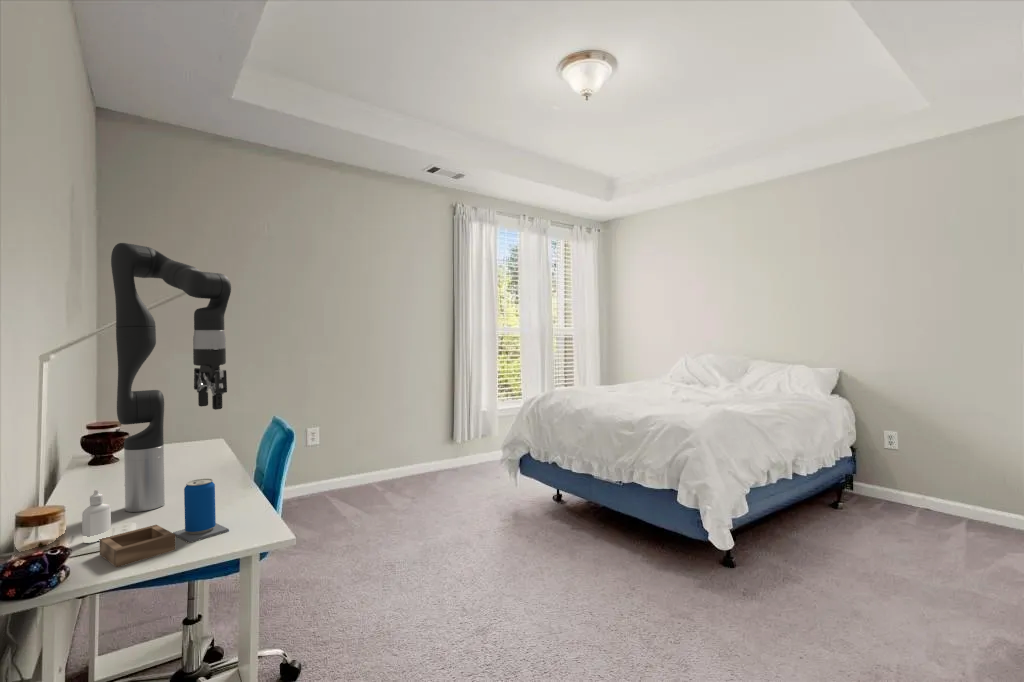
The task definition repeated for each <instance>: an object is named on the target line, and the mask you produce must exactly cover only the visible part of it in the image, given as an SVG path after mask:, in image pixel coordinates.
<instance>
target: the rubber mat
mask: <svg viewBox="0 0 1024 682" xmlns="http://www.w3.org/2000/svg"><path fill="white" fill-rule="evenodd" d="M227 531H228V532H230V530H229V527H225V526H224V525H221V524H219V523H217V522H216V525H215V527H213V528H212V530H210V531H208V532H205V533H201V534H190V533H189V532H186V531H185V528H184V529H180V530H176V531H173V532H172V533H173V534H175V537H177V538H178V537H179V539H180V538H181V540H182V539H183V540H182V541H184V540H185V542H186V541H187V542H186V543H188V542H190V543H193V542H192V541H194V542H196V540H197V541H199V539H201V540H204V539H207V538H210V536H211V537H214V536H217V534H218V535H220V533H221V534H223V532H224V533H227ZM203 538H204V539H203Z"/></svg>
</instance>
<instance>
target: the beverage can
mask: <svg viewBox="0 0 1024 682" xmlns="http://www.w3.org/2000/svg"><path fill="white" fill-rule="evenodd" d="M185 484H186V485H185V486H184V489H183V495H184V499H183V500H184V529H185V531H186V532H189V533H190V534H201V533H205V532H208V531H210V530H212V528H213V527H215V525H216V523H217V521H216V518H217V517H216V516H217V515H216V488H215V487H216V484H215V483H214V480H213V479H212V478H199V479H198V478H197V479H193V480H189V481H187V482H186V483H185Z"/></svg>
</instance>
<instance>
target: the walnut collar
mask: <svg viewBox="0 0 1024 682" xmlns="http://www.w3.org/2000/svg"><path fill="white" fill-rule="evenodd" d="M99 540H100V541H99V556H100V557H102V558H103V559H105V560H106V561H107V562H108V563H110V564H112V565H113V566H114V567H116V568H120V567H122V566H126V565H129V564H133V563H134V564H135V563H136V562H139V561H143V560H146V559H150V558H153V557H157V556H160V555H163V554H166V553H170V552H173V551H176V550H177V549H176V536H175V534H173V532H171V531H170V530H168V529H165V528H164V527H162V526H160V525H158V524H154V525H153V524H152V525H150V526H146V527H142V528H138V529H134V530H129V531H125V532H122V533H117V534H114V535H111V536H110V537H106V538H102V539H99Z"/></svg>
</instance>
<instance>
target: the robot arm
mask: <svg viewBox="0 0 1024 682" xmlns="http://www.w3.org/2000/svg"><path fill="white" fill-rule="evenodd" d="M110 258H111V259H110V264H111V265H110V266H111V274H112V281H113V289H114V297H115V298H114V299H115V339H116V340H115V341H116V342H115V343H116V354H117V356H116V357H117V386H116V387H117V389H116V391H117V392H116V415H117V416H116V417H117V420H118V422H119V424H121V425H123V426H124V425H128V426H129V425H137V424H146V423H148V426H147V427H146V428H145V429H142V430H141V431H140V432H138V433H136V434H135V433H134V434H133V435H130V436H128V437H126V438H124V441H123V449H124V450H123V452H124V453H123V460H124V461H123V462H124V510H125V511H126V512H128V513H135V512H145V511H146V512H147V511H151V510H154V509H155V510H156V509H158V508H161V507H162V506H164V505H165V500H166V499H165V452H164V451H165V450H164V447H165V445H164V419H165V418H164V417H165V397H164V394H163V392H162V391H161V390H159V389H148V390H132V386H133V382H134V380H135V378H136V376H137V374H138V372H139V370H140V369H141V368H142V365H144V363H145V362H146V360H147V359H148V358H149V356H151V354H152V352H153V351H154V349H155V347H156V345H157V333H156V331H157V330H156V321H155V319H154V316H153V315H152V313H151V312H150V310H149V309H148V307H147V306H146V305H145V303H144V301H143V300H142V299H141V297H140V296H139V293H138V292H137V287H136V284H135V278H141V279H161V280H162V281H163V282H164V283H166V284H167V285H168V286H170V287H173V288H176V289H178V290H181V291H183V292H184V293H185V294H186V295H188V296H189V297H192V298H196V299H206V300H207V299H208V300H209V302H208V304H207V306H204V307H199V308H196V309H195V310H194V312H193V330H194V331H193V336H192V337H193V339H192V353H193V354H192V355H193V356H192V359H193V365H194V366H199V367H194V368H193V369H194V370H193V371H194V372H193V374H194V375H193V389H194V390H196V393H198V395H197V396H198V397H197V398H198V400H197V403H198V407H200V408H201V407H207V406H209V389H210V391H211V394H212V396H211V397H212V399H211V400H212V401H211V402H212V404H211V405H212V410H216V411H217V410H221V409H223V395H224V394H225V393H227V392H228V382H227V381H228V380H227V369H221V367H220V366H222V365H226V363H227V360H226V359H227V355H226V354H227V352H226V348H227V343H226V342H227V341H226V334H225V314H226V310H227V307H228V304H229V299H230V296H231V293H232V284H231V280H230V279H229V277H228V276H227V275H225V274H223V273H219V272H208V271H202V270H200V269H199V268H197V267H195V266H192V265H189V264H187V263H184V262H180V261H177V260H176V261H175V260H173V259H171V258H169V257H167V256H166V255H164V254H162V253H161V252H160V251H158V250H156V249H154V248H152V247H149V246H144V245H138V244H132V243H128V242H118V243H117V244H115V246H114V247H113V248H112V252H111V256H110Z"/></svg>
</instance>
